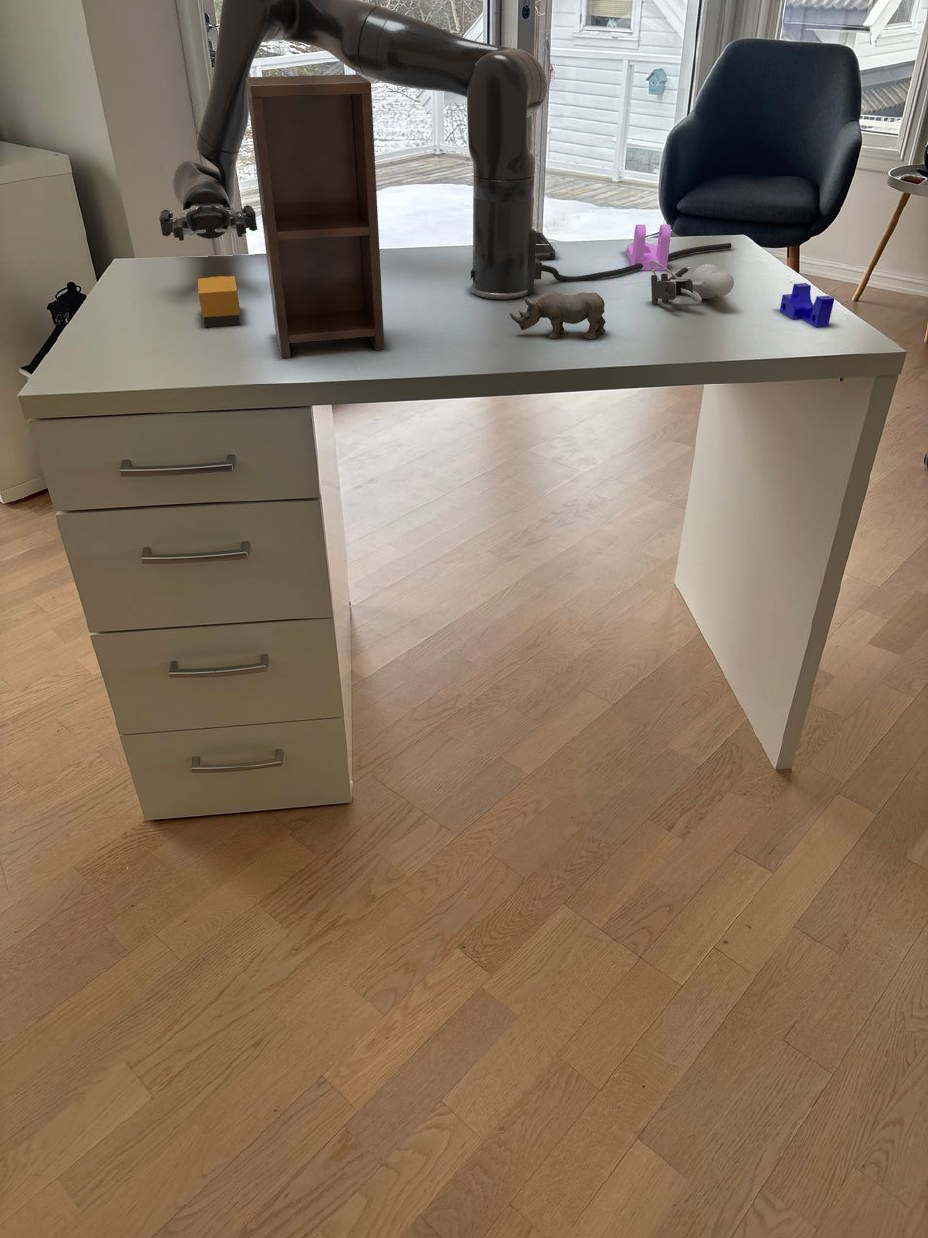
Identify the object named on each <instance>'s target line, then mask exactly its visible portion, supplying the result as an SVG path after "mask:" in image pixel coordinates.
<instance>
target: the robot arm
mask: <svg viewBox="0 0 928 1238" xmlns="http://www.w3.org/2000/svg"><path fill="white" fill-rule="evenodd" d="M218 26H219V27H218V33H217V34H218V35H217V42H216V50H215V55H214V56H215V57H214V63H213V64H214V65H213V72H212V78H211V84H210V90H209V93H208V97H207V101H206V105H205V108H204V111H203V115H202V119H201V122H200V125H199V130H198V132H197V135H196V140H195V147H196V151H197V152H198V153H199V154H200V156H202V158H204V159H205V160H206V161H207V162H209V163H211V165H213V166H215V167H216V169H217V170H216V169H214V168H212V167H209V166H207V165H204V164H202V163H199V162H198V161H194V160H190V159H189V160H187V159H186V160H184V161H181V162H180V163H179V164H178V166H176V168H175V171H174V173H173V176H172V191H173V194H174V197H175V199H176V200H177V202H178V203H180V204H181V205H182V210H180V211H179V214H173V212H172V211H171V210H168V209H163V210H161V212H160V215H159V224H160V230H161V235H162V236H163V237H169V236H171V234H173V238H174V239H178V241H179V242H181V241H185V236H195V235H196V236H198V237H200V238H202V239H207V240H215V239H217V238H221V237H222V236H223V235H225V234H226V233H227V234H233V233H236V235H237V238H243V235H245V234H247V229H249V231H250V232H251V231H252V232H256V231H258V224H257V213H256V211H255V210H254V208H253V206H252V205H250V204H246V205H244V206H243V207H241V210H240V211H236V210H235V208H234V203H235V200H236V199H235V198H236V169H237V168H236V167H237V162H238V157H239V153H240V151H241V147H242V144H243V141H244V138H245V135H246V131H247V129H248V125H249V120H250V112H249V103H248V95H247V86H246V77H250V71H251V68H252V65H253V62H254V59H255V57H256V54H257V52H258V51H259V49H260V47H261V45H262V43H268V42H275V41H276V42H277V41H287V42H288V41H289V42H296V43H301V44H305V45H308V46H313V47H316V48H319V49H321V50H324V51H326V52H328V53H330V54H331V55H332V56H333V57H335V58H336V59H337V60H338V61H340V62H341V63H342V64H343V65H345V66H346V67H347V68H349V69H351V70H352V71H354V72H355V73H358V74H359V75H361V76H362V75H363V76H364V77H368V78H370V79H371V78H372V79H373V80H376V81H380V82H382V83H385V84H387V85H388V84H389V85H393V86H397V87H401V88H409V89H417V90H424V91H435V92H445V93H451V94H454V95H458V96H461V97H463V98H466V115H467V116H466V117H467V119H466V120H467V144H468V153H469V156H470V158H471V162H472V167H473V169H472V170H473V171H472V173H473V175H472V179H473V180H472V181H473V183H472V269H471V270H470V280H472V284H471V292H472V293H473V294H474V295H475V296H478V297H480V298H481V297H482V298H486V299H491V300H493V299H494V300H514V299H519V298H523V297H527V296H529V295H534V294H535V280H542V275H543V272H544V273H549V274H552V275H553V278H554V280H556V281H557V282H563V283H572V282H573V283H574V282H589V281H592V280H599V279H604V278H611V277H615V276H616V277H617V276H621V275H624V274H629V273H631V272H635V271H639V270H638V269H641V268H643V265H642V264H640V263H639V264H635V265H631V264H630V265H629V266H625V267H621V268H616V269H613V270H606V271H600V272H595V273H589V274H584V275H575V276H573V275H570V276H568V275H563V274H560V273H559V271H558V269H557V268H555V267H553V266H551V265H546V264H543V262H541V260H538V259H537V258H536V257H535V256H536V232H537V231H536V229H534V228H533V224H534V223H533V222H534V202H535V201H534V200H535V176H536V157H535V155H534V153H533V152H532V151H531V150H530V148H529V144H528V118H529V117H530V116H532V115H533V114H534V113H536V112H537V111H538V110H539V109H540V107H542V105H543V103H544V102H545V99H546V96H547V92H548V79H547V75H546V71H545V70H544V68H543V65H542V64H541V63H540V61H539V60H538V59H537V58H536V57H535V56H534V54H531V53H530V52H528V51H526V50H524V49H521V48H516V47H514V48H513V47H509V46H508V47H507V46H502V45H497V44H492V43H486V42H481V41H477V40H476V41H475V40H473V39H468V38H465V37H463V36H460V35H457V34H454V33H453V32H450V31H449V30H448V31H447V30H445V29H443V28H441V27H438V26H436V25H433V24H431V23H429V22H425V21H423V20H421V19H419V18H415V17H412V16H410V15H408V14H405V13H402V12H399V11H396V10H393V9H391V8H386V7H384V6H380V5H377V4H373V3H369V2H364V1H362V0H222V2H221V9H220V17H219V25H218ZM731 248H732V243H731V242H726V243H717V244H716V243H715V244H709V245H701V246H693V247H689V248H684V249H680V250H676V251H673V252H669V254H668V260H671V259H675V258H678V257H681V256H685V255H691V254H697V253H702V252H710V251H719V250H720V251H721V250H729V249H731Z"/></svg>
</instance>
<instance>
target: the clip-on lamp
mask: <svg viewBox="0 0 928 1238" xmlns="http://www.w3.org/2000/svg"><path fill="white" fill-rule="evenodd" d="M652 263H655V264H656V265H658V266H660V267H661V268H663V269H664V270H663V271H665V272H666V273H665V272H663V273H661V274H660V278H659V277H658V275H657V273H656V272H655V270H654V269H653V267H652ZM650 267H651V269H652V270H651V271H652V275H651V276H650V284H651V288H650V289H651V290H650V291H651V304H653V305H658V303H659V300H661V302H662V303H668V302H669V301H674V300H676V299H680V298H681V299H682V298H692V299H693V300H695V301H696V302H697V303H701V302H702V301H703V300H702V299H712V298H714V297H715V296H718V297H719V296H722V297H723V296H727V295H728V294H730V293H731V292H732V290H733V288H734V286H735V279H734V276H733V275H732V274H731V273H730V272H727V271H722V270H721V269H720V268H719V267H718V266H717V265H715V264H712V263H705V264H701V265H700V266H698V267H697V268H695V269H694V270H693V272H692V273H691V276H690V278H683V276H684V275H685V274H687V273H688V272H689V270H691V269H692V266H687V267H682V268H681V269H680V270H678V271H677V272H676V273H674V272H672V271H671V270H670V269H669V268H668V267H667V268H666V267H664V266H663V265H661V264H660V263H658V262H656V261H653V260H651V261H650ZM668 274H669V275H671V276H670V277H669V275H668Z"/></svg>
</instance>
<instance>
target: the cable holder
mask: <svg viewBox="0 0 928 1238" xmlns="http://www.w3.org/2000/svg"><path fill="white" fill-rule="evenodd" d="M811 288H812V285H810V284H808V283H807V282H801V283H793V286H792V291H791V293H786V294H782V295H781V301H780V306H779V312H780V313H781V314H783V315H784V316H786V317H787V318H790V319H791V320H803V321H805V322H806V323H808V324H809V325H811V326H813V327H815V328H825V327H829V325H830V321H831V316H832V311H833V307H834V302H835V298H834V297H832V296H831V295H818V296H816V297H815V300H814V302H813V300H812V296H811V290H812V289H811Z"/></svg>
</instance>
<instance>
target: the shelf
mask: <svg viewBox="0 0 928 1238" xmlns="http://www.w3.org/2000/svg"><path fill="white" fill-rule="evenodd" d="M246 86H247V95H248V103H249V120H250V128H251V137H252V145H253V153H254V161H255V170H256V178H257V187H258V195H259V196H258V197H259V204H260V213H261V220H262V229H263V237H264V245H265V254H266V255H265V256H266V263H267V271H268V272H267V273H268V281H269V288H270V289H269V290H270V296H271V298H270V299H271V305H272V313H273V321H274V322H273V323H274V330H275V338H276V341H277V342H276V343H277V345H278V349H279V352H280V357H281V359H290V358H291V356H292V355H291V346H290V344H292V343H293V344H295V343H306V342H307V343H308V342H318V341H330V340H331V341H332V340H341V339H342V340H343V339H353V338H367V337H369V340H370V341H371V343H372V345H373V348H374V349H375V351H384V350H385V333H384V331H385V330H384V314H383V313H384V312H383V311H384V310H383V292H382V271H381V270H382V269H381V253H380V237H379V236H380V233H379V213H378V212H379V211H378V193H377V172H376V170H377V169H376V151H375V150H376V149H375V135H374V134H375V131H374V130H375V129H374V113H373V112H374V111H373V94H372V82H371V81H370V80H368V79H367V78H366V77H365V76H362V74H360V73H358V74H323V75H321V74H320V75H318V74H315V75H282V76H281V75H280V76H249V77H246Z"/></svg>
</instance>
